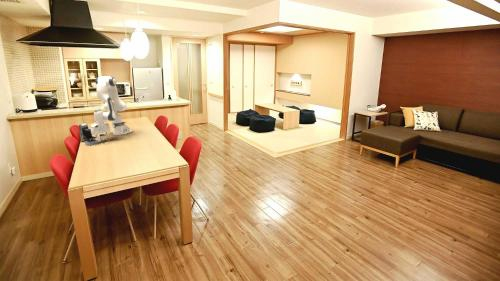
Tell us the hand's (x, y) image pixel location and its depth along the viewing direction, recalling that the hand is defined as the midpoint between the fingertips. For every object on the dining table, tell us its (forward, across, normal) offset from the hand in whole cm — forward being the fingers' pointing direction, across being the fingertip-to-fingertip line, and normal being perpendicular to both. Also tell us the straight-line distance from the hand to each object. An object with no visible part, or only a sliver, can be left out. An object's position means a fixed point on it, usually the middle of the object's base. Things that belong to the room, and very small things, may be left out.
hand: (101, 136), depth 297 cm
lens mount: (+6, +11, -2) cm, 13 cm away
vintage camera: (+6, +5, -15) cm, 17 cm away
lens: (+6, -1, 0) cm, 6 cm away
